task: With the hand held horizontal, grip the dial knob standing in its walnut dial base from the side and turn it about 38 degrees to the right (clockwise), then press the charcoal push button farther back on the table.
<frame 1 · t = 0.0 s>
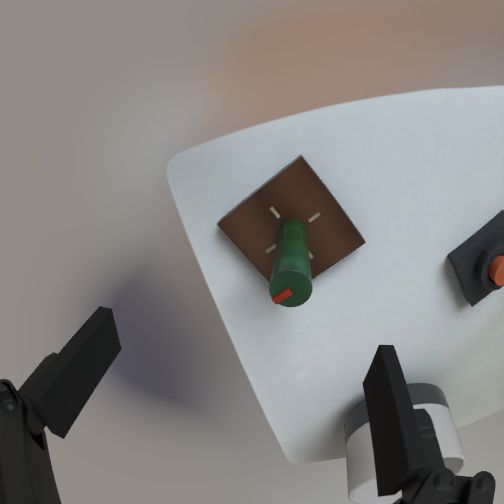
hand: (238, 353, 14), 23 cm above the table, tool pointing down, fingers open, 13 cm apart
button box: (485, 256, 32), on the table
dial base: (292, 227, 35), on the table
button: (501, 270, 28), point 4 cm above the table, slide at 0.1 cm
dial knob: (291, 256, 27), point 8 cm above the table, hinge at 0.0°
planter: (393, 404, 46), on the table
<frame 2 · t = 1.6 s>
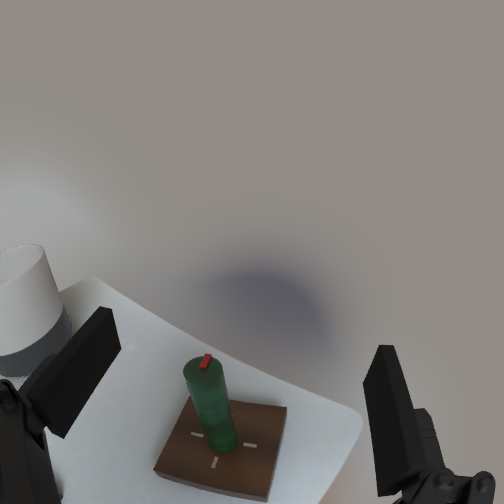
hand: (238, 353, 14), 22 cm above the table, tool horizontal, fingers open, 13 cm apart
dial base: (225, 448, 28), on the table
dial knob: (213, 410, 25), point 8 cm above the table, hinge at 0.0°
planter: (35, 354, 42), on the table
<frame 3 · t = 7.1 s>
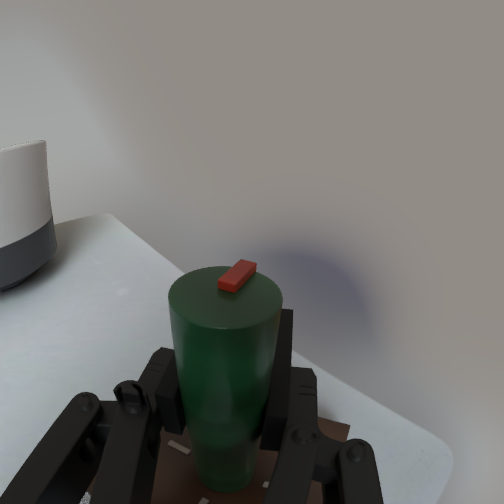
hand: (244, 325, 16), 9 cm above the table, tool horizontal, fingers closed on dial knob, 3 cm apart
dial base: (225, 480, 14), on the table
dial knob: (224, 412, 11), point 8 cm above the table, hinge at 0.0°, touching gripper
planter: (5, 278, 32), on the table
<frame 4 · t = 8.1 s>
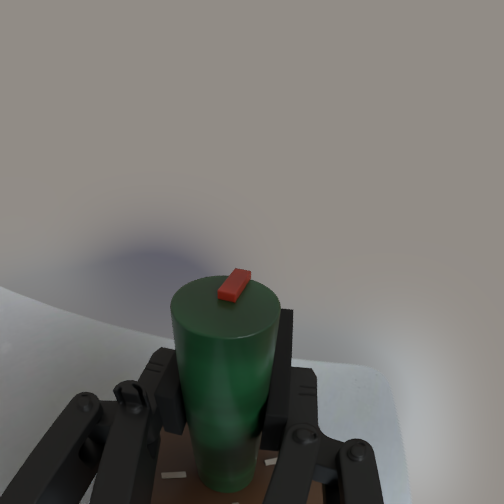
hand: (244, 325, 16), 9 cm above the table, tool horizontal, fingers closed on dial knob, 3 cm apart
dial base: (226, 481, 14), on the table
dial knob: (225, 415, 11), point 8 cm above the table, hinge at -31.6°, touching gripper
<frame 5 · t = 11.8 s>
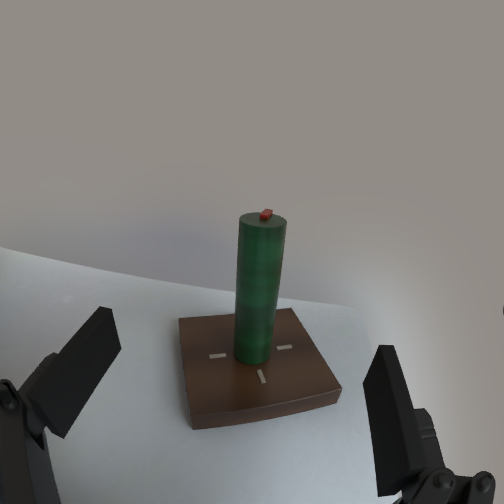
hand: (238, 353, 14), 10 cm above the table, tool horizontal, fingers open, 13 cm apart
dial base: (250, 368, 26), on the table
dial knob: (257, 293, 23), point 8 cm above the table, hinge at -31.1°
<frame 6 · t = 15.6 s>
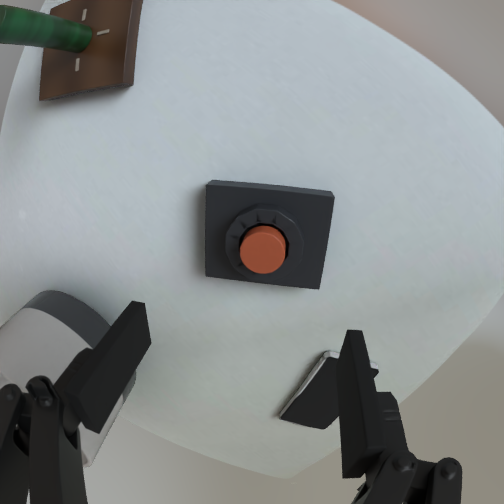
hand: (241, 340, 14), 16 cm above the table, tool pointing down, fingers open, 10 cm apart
button box: (267, 230, 29), on the table
smartphone: (325, 391, 37), on the table
dial base: (91, 41, 22), on the table
button: (263, 249, 25), point 4 cm above the table, slide at 0.1 cm
dial knob: (41, 30, 15), point 8 cm above the table, hinge at -31.1°
planter: (89, 335, 39), on the table
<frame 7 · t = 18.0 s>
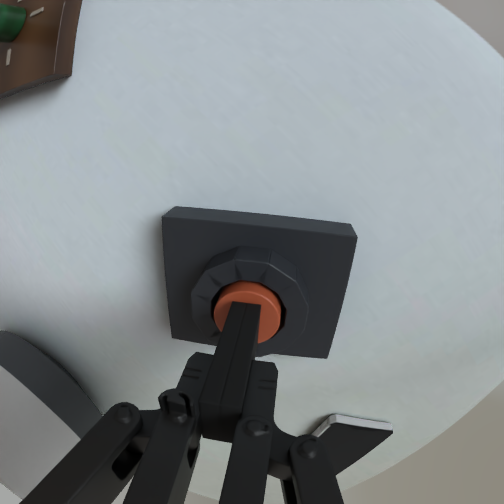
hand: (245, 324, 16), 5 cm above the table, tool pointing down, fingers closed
button box: (256, 278, 20), on the table
smartphone: (328, 448, 28), on the table
dial base: (30, 27, 14), on the table
button: (248, 310, 17), point 4 cm above the table, slide at -0.7 cm, touching gripper
planter: (55, 376, 30), on the table
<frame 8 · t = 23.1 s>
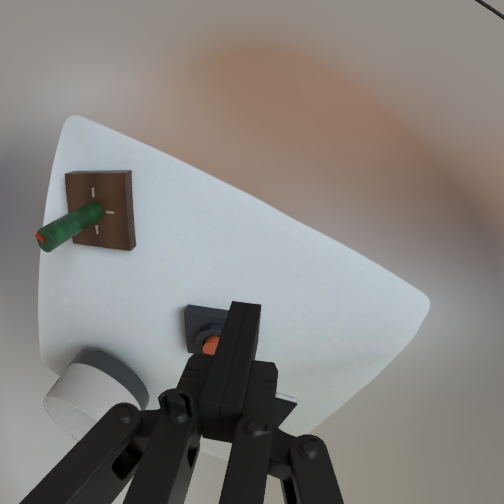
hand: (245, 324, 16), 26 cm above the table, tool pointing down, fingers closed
button box: (220, 330, 50), on the table
smartphone: (267, 411, 58), on the table
dial base: (102, 207, 43), on the table
button: (214, 347, 46), point 4 cm above the table, slide at 0.1 cm
dial knob: (71, 224, 36), point 8 cm above the table, hinge at -31.1°
planter: (116, 372, 60), on the table
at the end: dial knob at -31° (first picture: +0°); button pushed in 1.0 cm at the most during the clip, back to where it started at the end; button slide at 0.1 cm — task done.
